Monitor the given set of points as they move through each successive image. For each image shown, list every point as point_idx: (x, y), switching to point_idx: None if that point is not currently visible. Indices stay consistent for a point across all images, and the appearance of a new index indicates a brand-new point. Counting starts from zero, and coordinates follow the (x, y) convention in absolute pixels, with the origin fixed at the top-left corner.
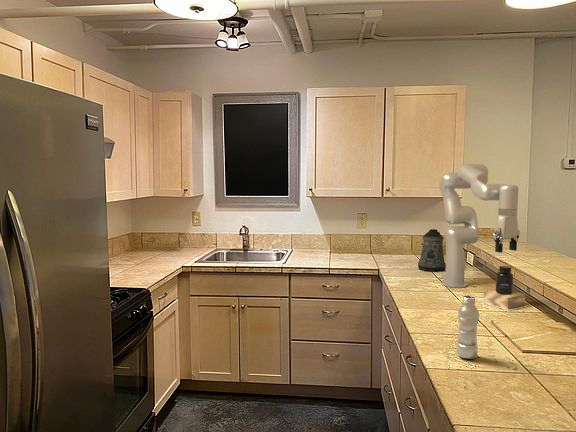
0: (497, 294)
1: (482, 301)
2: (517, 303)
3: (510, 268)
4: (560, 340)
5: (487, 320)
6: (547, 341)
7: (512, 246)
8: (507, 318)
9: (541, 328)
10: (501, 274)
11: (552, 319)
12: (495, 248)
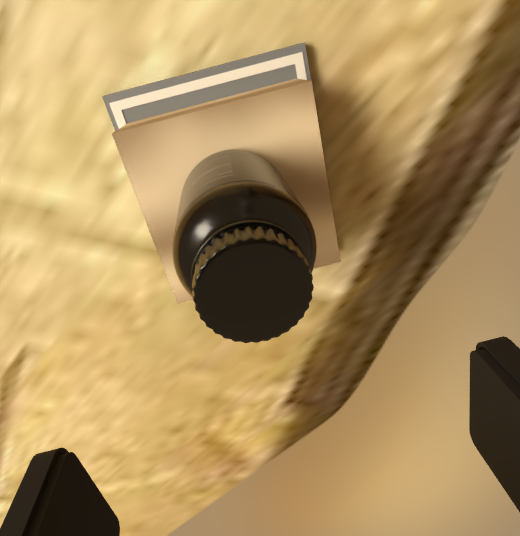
0: (166, 220)
1: (132, 100)
2: None
3: (273, 333)
4: (147, 522)
5: (3, 350)
6: None
7: (514, 458)
8: (115, 344)
9: (169, 447)
10: (184, 285)
11: (293, 384)
12: (12, 510)
